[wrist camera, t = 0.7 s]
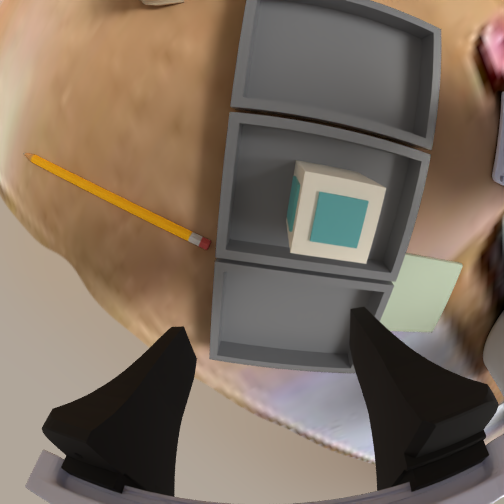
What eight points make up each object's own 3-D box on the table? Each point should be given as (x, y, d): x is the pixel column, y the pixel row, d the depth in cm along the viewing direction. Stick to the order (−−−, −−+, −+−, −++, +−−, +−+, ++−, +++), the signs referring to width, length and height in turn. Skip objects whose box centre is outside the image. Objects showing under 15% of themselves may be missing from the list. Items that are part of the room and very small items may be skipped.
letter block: (357, 171, 17) (387, 188, 12) (344, 230, 18) (366, 265, 14) (293, 159, 17) (302, 171, 12) (283, 220, 18) (287, 253, 14)
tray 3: (384, 270, 20) (394, 285, 18) (350, 355, 23) (354, 373, 21) (220, 247, 20) (214, 261, 18) (214, 341, 23) (209, 359, 21)
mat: (460, 262, 19) (462, 264, 19) (430, 329, 22) (432, 332, 21) (395, 251, 19) (397, 253, 19) (367, 326, 22) (368, 329, 22)
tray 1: (426, 36, 12) (440, 29, 10) (415, 147, 16) (431, 150, 14) (252, -7, 12) (250, -22, 10) (235, 109, 16) (230, 106, 14)
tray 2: (415, 151, 16) (430, 154, 14) (385, 267, 20) (395, 281, 18) (234, 113, 16) (229, 111, 14) (221, 243, 20) (215, 257, 18)
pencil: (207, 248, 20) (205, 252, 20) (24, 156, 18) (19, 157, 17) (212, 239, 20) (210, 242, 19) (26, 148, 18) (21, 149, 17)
